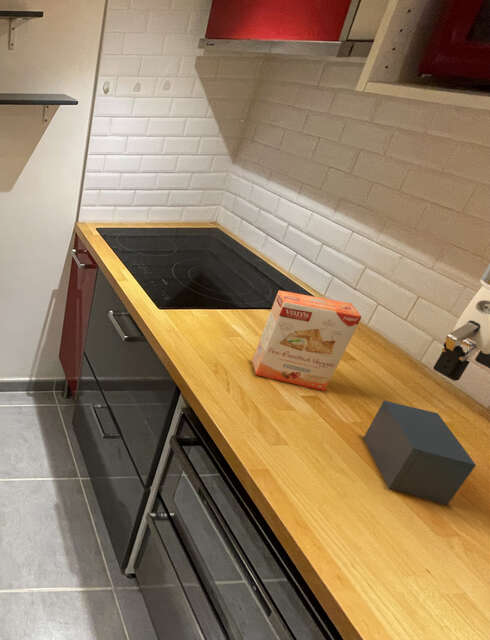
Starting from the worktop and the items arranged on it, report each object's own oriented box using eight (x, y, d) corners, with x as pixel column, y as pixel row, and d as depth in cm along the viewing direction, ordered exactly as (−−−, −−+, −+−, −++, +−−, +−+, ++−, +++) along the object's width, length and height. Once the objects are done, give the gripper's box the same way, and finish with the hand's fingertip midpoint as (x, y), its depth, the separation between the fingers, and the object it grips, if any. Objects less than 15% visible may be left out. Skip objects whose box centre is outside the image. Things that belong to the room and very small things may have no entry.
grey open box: (414, 451, 86) (438, 413, 82) (447, 505, 76) (476, 465, 72) (363, 437, 89) (383, 400, 85) (388, 488, 79) (413, 448, 75)
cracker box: (255, 376, 105) (284, 301, 96) (250, 361, 110) (277, 288, 102) (326, 393, 100) (363, 315, 92) (318, 376, 106) (352, 301, 97)
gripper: (513, 301, 63) (456, 394, 70) (594, 288, 66) (532, 377, 73) (449, 276, 69) (402, 363, 76) (526, 265, 73) (475, 349, 80)
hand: (466, 370), depth 75 cm, fingers open, 9 cm apart
